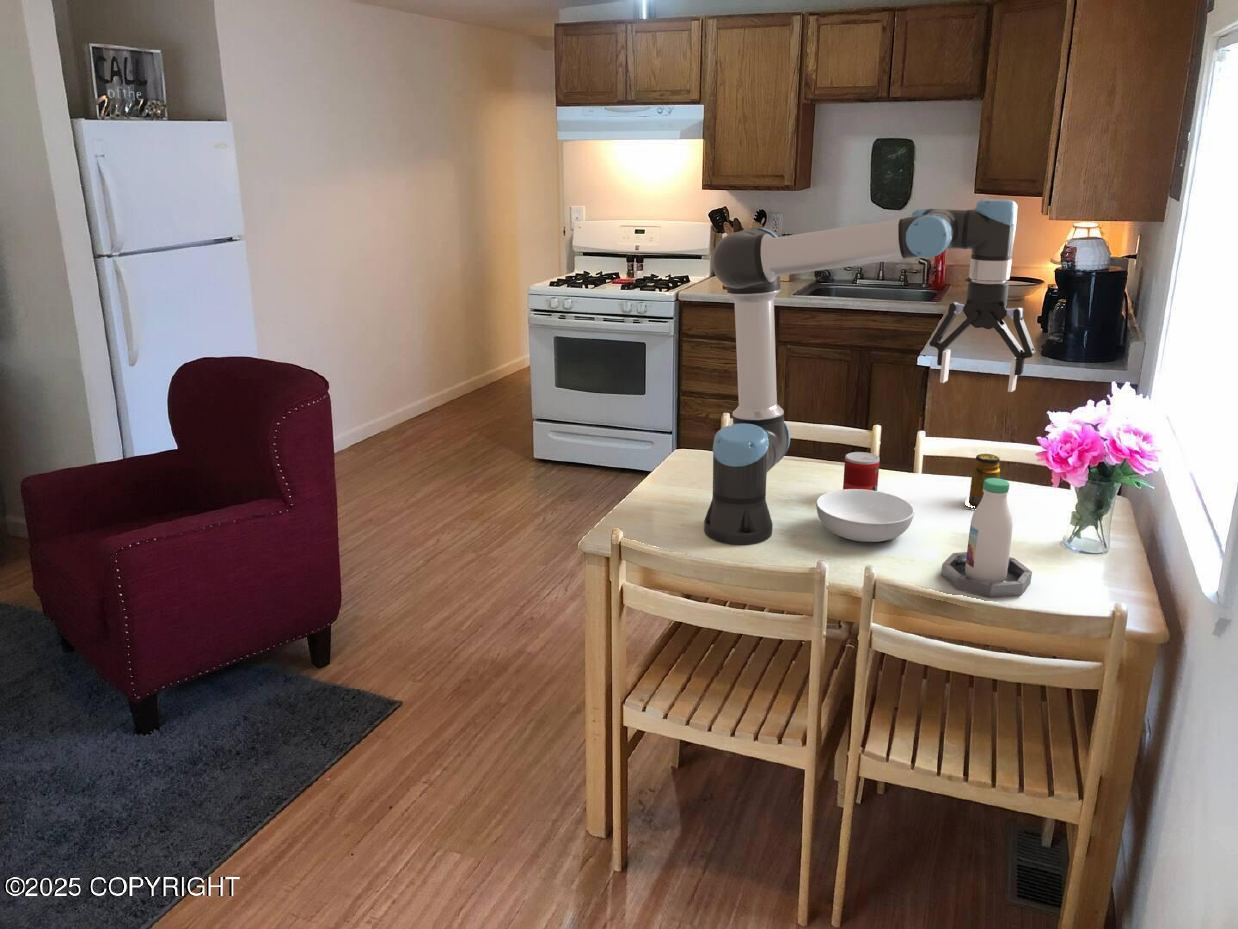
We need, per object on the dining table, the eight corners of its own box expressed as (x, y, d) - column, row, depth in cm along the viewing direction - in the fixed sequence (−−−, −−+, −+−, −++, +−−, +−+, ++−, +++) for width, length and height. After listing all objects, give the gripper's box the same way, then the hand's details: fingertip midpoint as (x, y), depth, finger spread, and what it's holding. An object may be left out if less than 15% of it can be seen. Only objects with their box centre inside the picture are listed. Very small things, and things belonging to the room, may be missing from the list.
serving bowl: (892, 561, 198) (895, 530, 196) (799, 539, 209) (800, 509, 207) (924, 528, 214) (927, 500, 212) (836, 509, 225) (838, 482, 223)
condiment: (998, 501, 229) (1004, 454, 225) (996, 513, 222) (1002, 464, 218) (966, 497, 232) (971, 450, 228) (963, 509, 224) (968, 461, 221)
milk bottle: (1012, 575, 189) (1024, 480, 183) (997, 588, 184) (1009, 491, 177) (973, 565, 194) (984, 471, 187) (958, 577, 188) (968, 482, 182)
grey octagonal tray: (933, 583, 188) (934, 571, 187) (958, 556, 199) (960, 545, 198) (1014, 604, 179) (1016, 592, 178) (1036, 575, 190) (1038, 563, 190)
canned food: (879, 505, 227) (883, 461, 224) (845, 505, 227) (848, 461, 224) (872, 494, 235) (875, 451, 231) (839, 494, 235) (842, 451, 231)
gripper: (1061, 283, 184) (1046, 390, 191) (932, 274, 198) (923, 374, 205) (1051, 288, 178) (1036, 398, 185) (919, 278, 192) (910, 381, 199)
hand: (976, 386), depth 195 cm, fingers open, 13 cm apart
